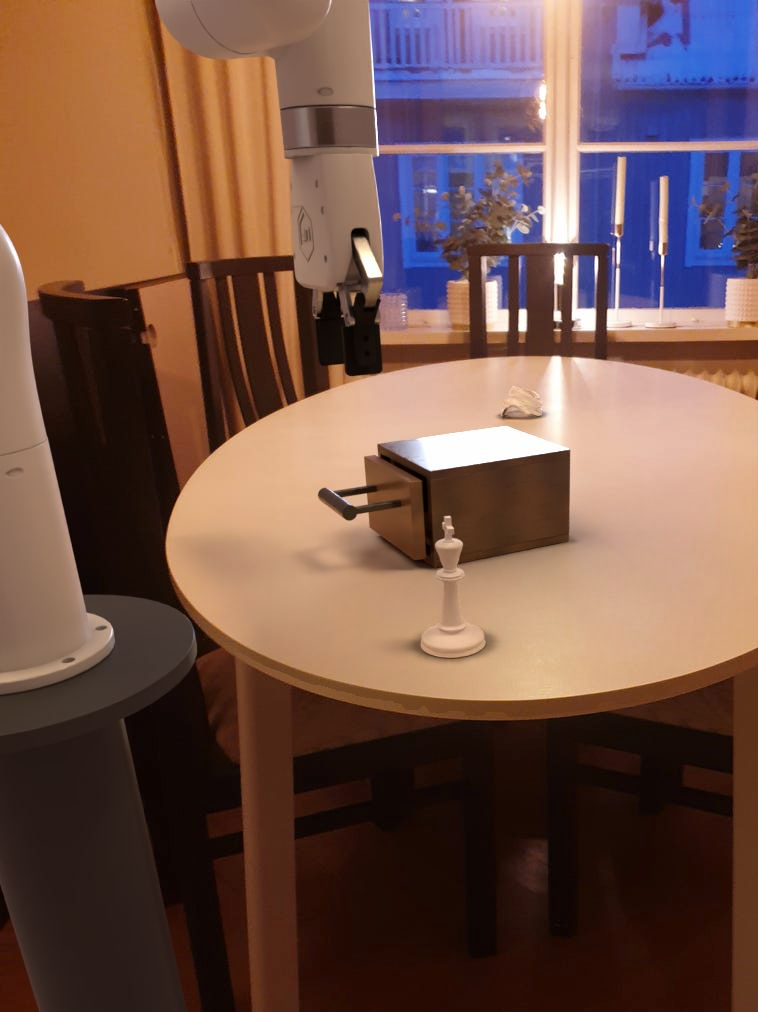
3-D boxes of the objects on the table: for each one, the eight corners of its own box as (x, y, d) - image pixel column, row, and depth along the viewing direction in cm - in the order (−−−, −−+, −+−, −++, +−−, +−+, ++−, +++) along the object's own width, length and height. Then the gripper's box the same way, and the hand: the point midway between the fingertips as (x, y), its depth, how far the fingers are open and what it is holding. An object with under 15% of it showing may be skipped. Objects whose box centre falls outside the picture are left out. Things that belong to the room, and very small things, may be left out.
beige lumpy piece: (504, 415, 152) (501, 385, 151) (545, 411, 151) (542, 380, 150) (499, 422, 145) (495, 390, 143) (542, 418, 144) (539, 385, 142)
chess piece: (474, 626, 73) (471, 504, 69) (493, 652, 69) (490, 522, 65) (414, 635, 72) (406, 511, 68) (429, 662, 68) (422, 531, 64)
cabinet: (434, 568, 86) (429, 471, 82) (383, 531, 96) (376, 443, 92) (569, 541, 92) (570, 449, 88) (507, 509, 102) (506, 425, 98)
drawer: (355, 572, 83) (348, 492, 80) (315, 537, 92) (307, 464, 89) (541, 535, 91) (541, 461, 87) (487, 506, 100) (485, 438, 97)
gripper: (255, 145, 80) (279, 361, 87) (319, 127, 66) (342, 387, 73) (338, 145, 83) (355, 354, 90) (417, 128, 69) (429, 378, 76)
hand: (349, 367), depth 82 cm, fingers open, 6 cm apart
